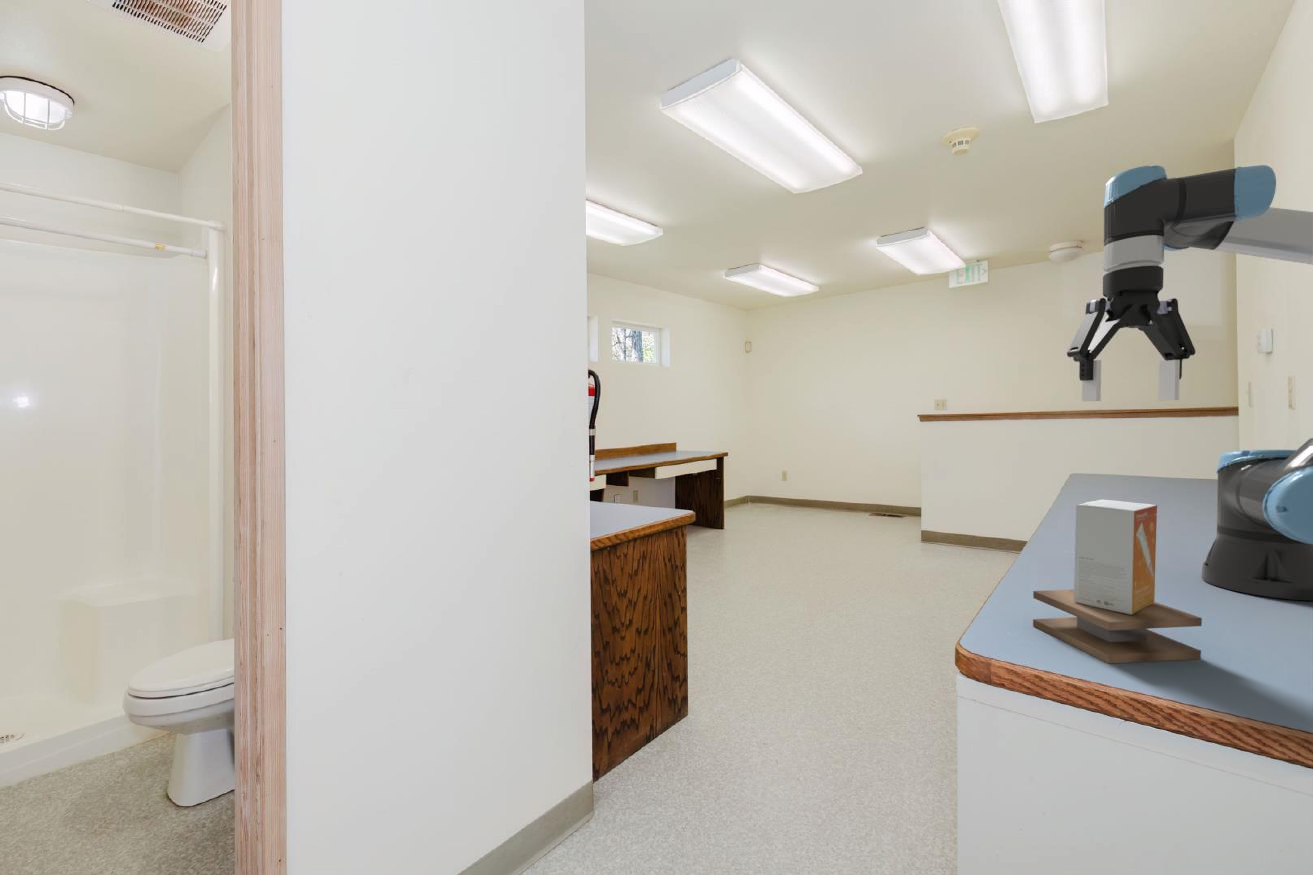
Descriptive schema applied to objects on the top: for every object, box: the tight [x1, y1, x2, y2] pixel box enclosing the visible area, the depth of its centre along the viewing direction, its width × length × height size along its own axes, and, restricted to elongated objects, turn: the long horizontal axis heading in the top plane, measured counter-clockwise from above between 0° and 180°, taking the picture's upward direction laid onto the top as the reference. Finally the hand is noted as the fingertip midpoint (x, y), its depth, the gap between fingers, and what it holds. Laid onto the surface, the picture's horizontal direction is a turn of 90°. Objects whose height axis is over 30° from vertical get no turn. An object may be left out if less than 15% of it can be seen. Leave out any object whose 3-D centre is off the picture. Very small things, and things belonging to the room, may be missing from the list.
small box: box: [1073, 499, 1158, 615], centre depth 73 cm, size 8×6×13 cm
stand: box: [1032, 588, 1203, 664], centre depth 73 cm, size 12×12×5 cm
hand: (1130, 401), depth 92 cm, fingers open, 13 cm apart
